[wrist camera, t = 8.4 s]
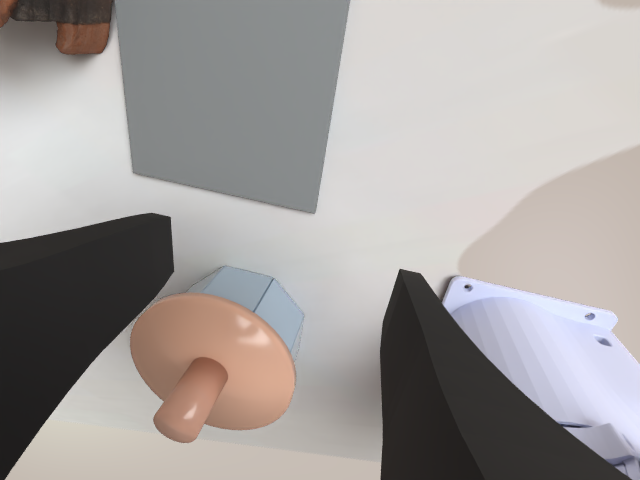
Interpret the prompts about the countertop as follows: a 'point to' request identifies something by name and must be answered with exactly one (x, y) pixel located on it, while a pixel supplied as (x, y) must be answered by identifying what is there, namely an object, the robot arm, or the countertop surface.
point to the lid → (211, 365)
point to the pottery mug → (66, 21)
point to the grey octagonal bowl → (257, 300)
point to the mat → (232, 93)
